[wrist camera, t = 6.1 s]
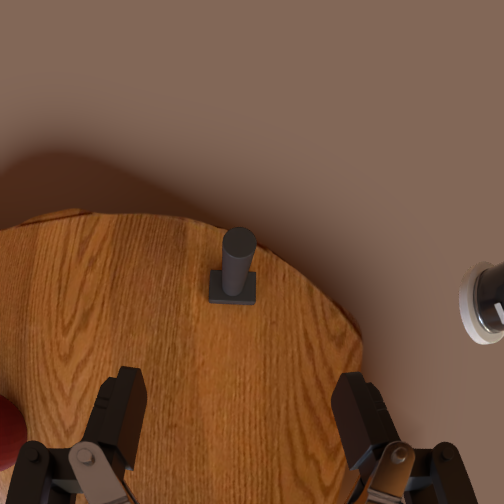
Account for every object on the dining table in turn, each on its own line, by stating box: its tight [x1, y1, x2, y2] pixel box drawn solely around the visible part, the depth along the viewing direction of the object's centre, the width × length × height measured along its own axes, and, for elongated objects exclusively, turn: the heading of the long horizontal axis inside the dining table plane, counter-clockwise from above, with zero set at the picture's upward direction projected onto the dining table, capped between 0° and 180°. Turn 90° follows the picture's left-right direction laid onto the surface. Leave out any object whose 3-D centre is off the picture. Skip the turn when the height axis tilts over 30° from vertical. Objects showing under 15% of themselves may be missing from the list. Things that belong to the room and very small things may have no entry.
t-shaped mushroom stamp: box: [209, 227, 257, 305], centre depth 23 cm, size 4×3×13 cm
